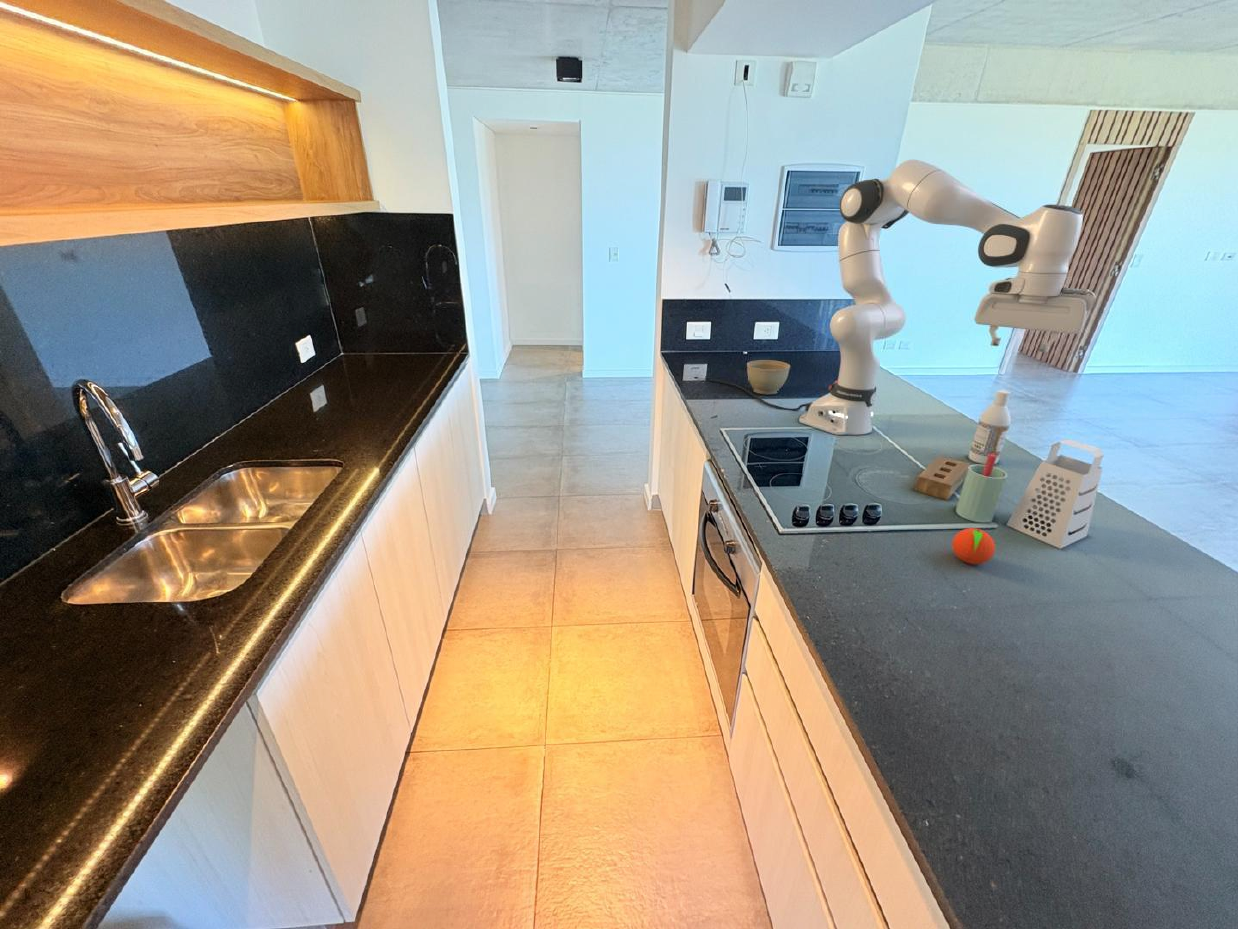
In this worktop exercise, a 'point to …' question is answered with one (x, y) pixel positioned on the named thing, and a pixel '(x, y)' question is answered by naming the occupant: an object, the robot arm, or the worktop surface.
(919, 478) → the block
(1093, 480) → the grater
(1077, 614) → the worktop surface
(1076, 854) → the worktop surface
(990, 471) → the straw
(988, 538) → the clementine
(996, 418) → the bath foam
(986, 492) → the cup
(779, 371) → the planter bowl
